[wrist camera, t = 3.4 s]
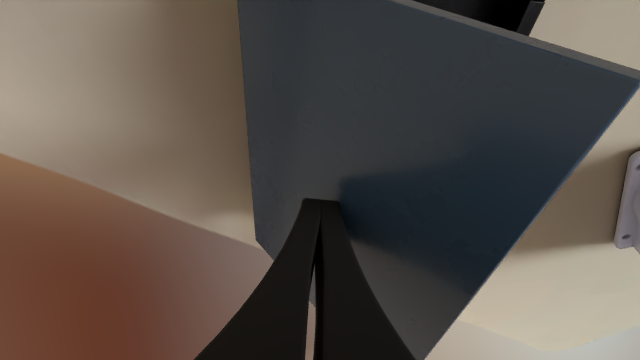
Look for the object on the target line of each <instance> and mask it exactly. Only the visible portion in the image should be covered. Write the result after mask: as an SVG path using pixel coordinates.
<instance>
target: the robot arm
mask: <svg viewBox="0 0 640 360" xmlns="http://www.w3.org/2000/svg"><path fill="white" fill-rule="evenodd" d="M614 245H615V246H616V247H617V248H621V249H622V248H628V247H634V248H635V249H636V250H637V251H638V253H639V254H640V151H638V152H635V153H634V154H632V155H631V156H630V158H629V161H628V166H627V172H626V177H625V183H624V188H623V194H622V199H621V205H620V210H619V216H618V221H617V227H616V232H615V238H614ZM314 265H315V305H316V325H315V326H316V327H315V342H314V356H313V357H314V358H313V360H416V359H415V357H414V356H413V354H412V353H411V352H410V350H409V349H408V347H407V346H406V345H405V343H404V342H403V340H402V339H401V337H400V336H399V334H398V333H397V331H396V330H395V328H394V327H393V325H392V323H391V322H390V320H389V319H388V317H387V316H386V314H385V312H384V311H383V309H382V307H381V306H380V304H379V302H378V300H377V299H376V297H375V295H374V293H373V291H372V289H371V288H370V286H369V284H368V282H367V280H366V278H365V276H364V273H363V271H362V269H361V267H360V265H359V262H358V260H357V258H356V255H355V253H354V250H353V248H352V245H351V242H350V240H349V237H348V234H347V231H346V228H345V224H344V221H343V217H342V213H341V208H340V203H339V202H338V201H333V200H323V199H312V198H304V199H303V200H302V203H301V207H300V210H299V213H298V216H297V218H296V221H295V223H294V225H293V227H292V229H291V231H290V233H289V235H288V237H287V239H286V241H285V243H284V245H283V247H282V249H281V250H280V252H279V254H278V255H277V257H276V259H275V261H274V262H273V264H272V265H271V267H270V269H269V270H268V272H267V273H266V275H265V276H264V278H263V279H262V281H261V282H260V283H259V285H258V286H257V287H256V289H255V290H254V291H253V293H252V294H251V295H250V297H249V298H248V299H247V301H246V302H245V303H244V304H243V306H242V307H241V308H240V310H239V311H238V312H237V313H236V314H235V315H234V316H233V318H232V319H231V320H230V321H229V322H228V323H227V325H226V326H225V327H224V328H223V329H222V331H221V332H220V333H219V334H218V335H217V336H216V337H215V338H214V339H213V340H212V341H211V342H210V343H209V344H208V345H207V346H206V347H205V349H204V350H203V351H202V352H201V353H200V354H199V355H198V356H197V357H196V358H195V359H194V360H305V349H306V334H307V319H308V305H309V304H308V303H309V294H310V289H311V283H312V277H313V271H314Z"/></svg>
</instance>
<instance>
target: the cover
mask: <svg viewBox="0 0 640 360" xmlns="http://www.w3.org/2000/svg"><path fill="white" fill-rule="evenodd" d="M238 13H239V26H240V40H241V53H242V66H243V79H244V92H245V105H246V118H247V131H248V145H249V158H250V171H251V184H252V197H253V210H254V223H255V236H256V241H257V242H258V243H259V244H260V245H261V246H262V247H263V249H264V250H265V251H266V252H267V253H268V254H269V255H270V257H271V258H272V259H273V260H274V261H275V259H276V257H277V255H278V254H279V252H280V250H281V249H282V247H283V245H284V243H285V241H286V239H287V237H288V235H289V233H290V231H291V229H292V227H293V225H294V223H295V221H296V218H297V216H298V213H299V210H300V207H301V203H302V200H303V199H304V198H312V199H323V200H333V201H338V202H339V203H340V208H341V213H342V217H343V221H344V224H345V228H346V231H347V234H348V237H349V240H350V242H351V245H352V248H353V250H354V253H355V255H356V258H357V260H358V262H359V265H360V267H361V269H362V271H363V273H364V276H365V278H366V280H367V282H368V284H369V286H370V288H371V289H372V291H373V293H374V295H375V297H376V299H377V300H378V302H379V304H380V306H381V307H382V309H383V311H384V312H385V314H386V316H387V317H388V319H389V320H390V322H391V323H392V325H393V327H394V328H395V330H396V331H397V333H398V334H399V336H400V337H401V339H402V340H403V342H404V343H405V345H406V346H407V347H408V349H409V350H410V352H411V353H412V354H413V356H414V357H415V359H416V360H425V358H426V357H427V356H428V355H429V353H430V352H431V351H432V349H433V348H434V347H435V346H436V344H437V343H438V342H439V340H440V339H441V338H442V337H443V336H444V334H445V333H446V332H447V331H448V329H449V328H450V327H451V325H452V324H453V323H454V322H455V320H456V319H457V318H458V317H459V315H460V314H461V313H462V312H463V310H464V309H465V308H466V307H467V305H468V304H469V303H470V301H471V300H472V299H473V298H474V296H475V295H476V294H477V293H478V291H479V290H480V289H481V288H482V286H483V285H484V284H485V283H486V281H487V280H488V279H489V277H490V276H491V275H492V274H493V272H494V271H495V270H496V269H497V267H498V266H499V265H500V264H501V262H502V261H503V260H504V259H505V257H506V256H507V255H508V254H509V252H510V251H511V250H512V248H513V247H514V246H515V245H516V243H517V242H518V241H519V240H520V238H521V237H522V236H523V235H524V233H525V232H526V231H527V230H528V228H529V227H530V226H531V224H532V223H533V222H534V221H535V219H536V218H537V217H538V216H539V214H540V213H541V212H542V211H543V209H544V208H545V207H546V206H547V204H548V203H549V202H550V200H551V199H552V198H553V197H554V195H555V194H556V193H557V192H558V190H559V189H560V188H561V187H562V185H563V184H564V183H565V182H566V180H567V179H568V178H569V177H570V175H571V174H572V173H573V171H574V170H575V169H576V168H577V166H578V165H579V164H580V163H581V161H582V160H583V159H584V158H585V156H586V155H587V154H588V153H589V151H590V150H591V149H592V147H593V146H594V145H595V144H596V142H597V141H598V140H599V139H600V137H601V136H602V135H603V134H604V132H605V131H606V130H607V129H608V127H609V126H610V125H611V123H612V122H613V121H614V120H615V118H616V117H617V116H618V115H619V113H620V112H621V111H622V110H623V108H624V107H625V106H626V105H627V103H628V102H629V101H630V99H631V98H632V97H633V96H634V94H635V93H636V92H637V91H638V89H639V88H640V71H639V70H636V69H632V68H629V67H626V66H623V65H619V64H616V63H613V62H610V61H606V60H603V59H600V58H597V57H594V56H590V55H587V54H584V53H581V52H577V51H574V50H571V49H568V48H564V47H561V46H558V45H555V44H551V43H548V42H545V41H542V40H539V39H535V38H532V37H529V36H526V35H522V34H519V33H516V32H513V31H509V30H506V29H503V28H500V27H496V26H493V25H490V24H487V23H484V22H480V21H477V20H474V19H471V18H467V17H464V16H461V15H458V14H454V13H451V12H448V11H445V10H441V9H438V8H435V7H432V6H428V5H425V4H422V3H419V2H416V1H412V0H238ZM309 301H310V302H311V303H312V304H313V305H314V306H315V308H316V305H315V265H314V271H313V277H312V283H311V289H310V294H309Z"/></svg>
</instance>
